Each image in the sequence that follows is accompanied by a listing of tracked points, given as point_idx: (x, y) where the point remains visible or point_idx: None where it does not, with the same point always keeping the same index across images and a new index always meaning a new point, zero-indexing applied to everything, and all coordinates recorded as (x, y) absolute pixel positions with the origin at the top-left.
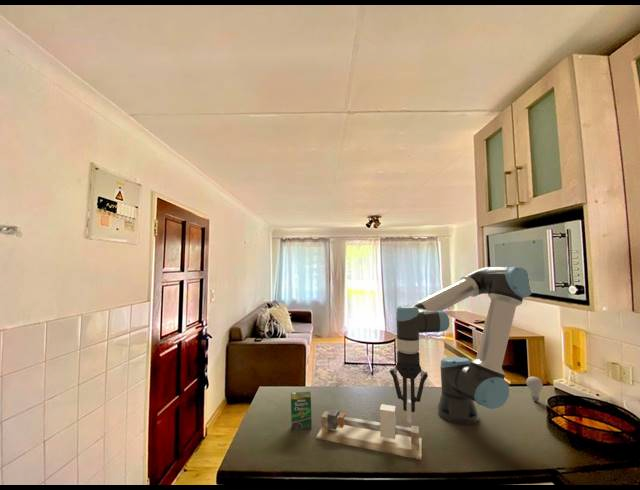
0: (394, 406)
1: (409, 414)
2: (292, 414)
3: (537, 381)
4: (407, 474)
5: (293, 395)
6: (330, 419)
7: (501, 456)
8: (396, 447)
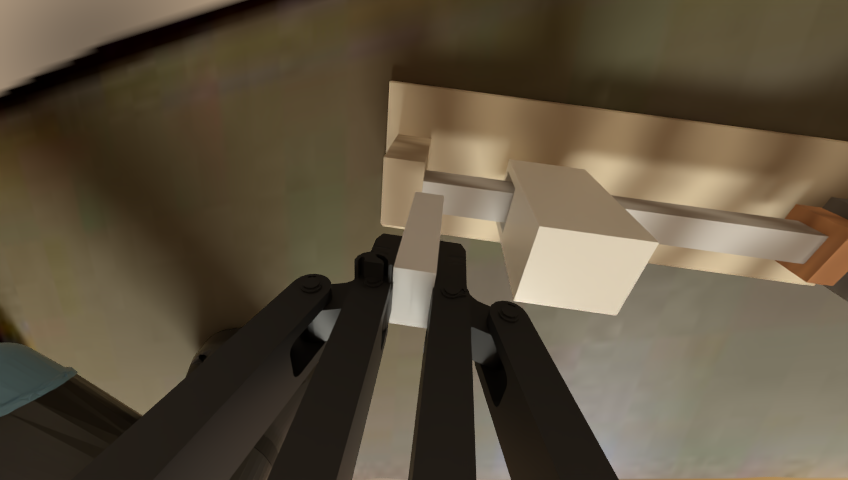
0: (522, 296)
1: (421, 218)
2: None
3: None
4: None
5: None
6: None
7: (101, 174)
8: (500, 137)
